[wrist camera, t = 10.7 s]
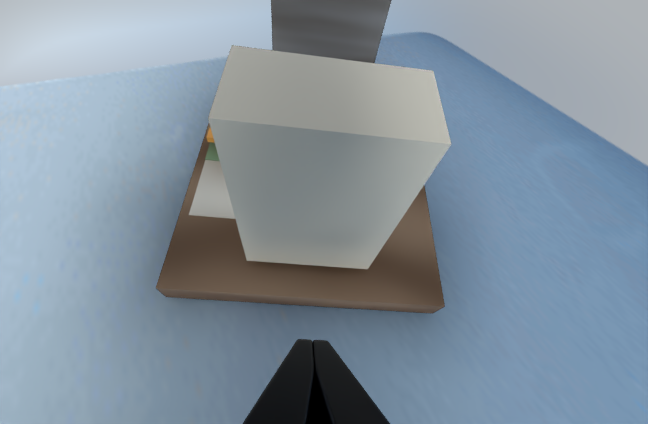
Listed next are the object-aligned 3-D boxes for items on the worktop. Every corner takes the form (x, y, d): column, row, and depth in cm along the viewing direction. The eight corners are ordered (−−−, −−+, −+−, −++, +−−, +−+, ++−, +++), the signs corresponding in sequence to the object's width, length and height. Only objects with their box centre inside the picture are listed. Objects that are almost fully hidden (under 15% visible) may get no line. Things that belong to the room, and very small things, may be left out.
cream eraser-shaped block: (367, 269, 15) (451, 144, 8) (246, 260, 15) (207, 118, 7) (362, 161, 19) (416, 4, 11) (265, 152, 19) (252, -20, 11)
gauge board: (432, 313, 17) (573, 235, 9) (166, 296, 16) (38, 189, 7) (402, 107, 25) (458, -30, 17) (228, 87, 24) (201, -70, 16)
